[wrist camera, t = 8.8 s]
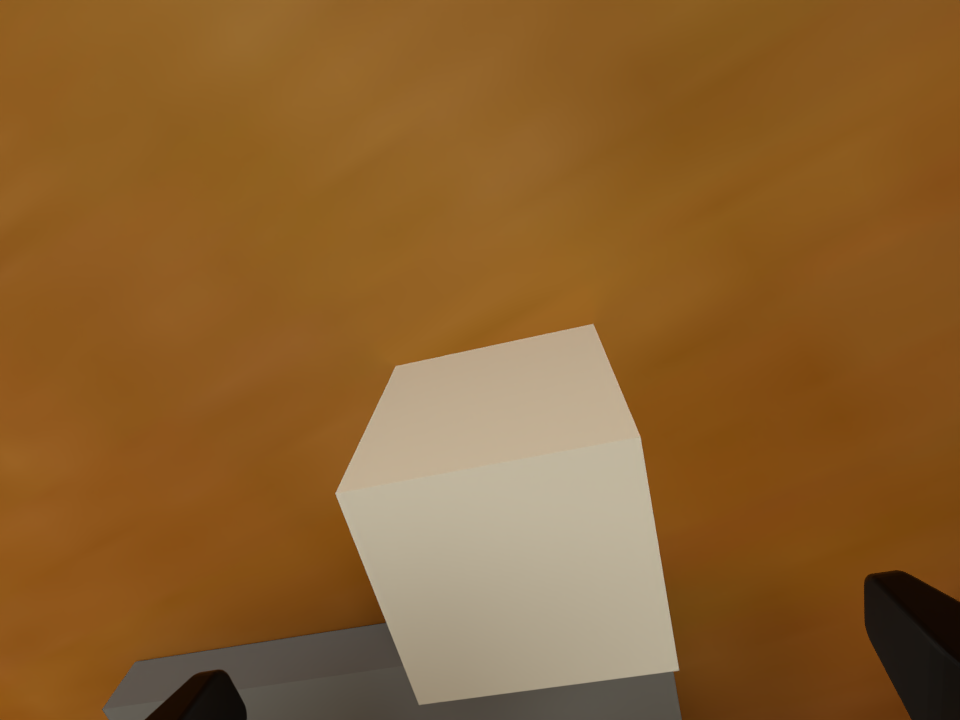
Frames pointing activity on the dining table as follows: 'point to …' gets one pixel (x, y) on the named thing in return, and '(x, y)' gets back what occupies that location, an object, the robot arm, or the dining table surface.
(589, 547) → the cream block
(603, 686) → the charcoal plate
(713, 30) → the dining table surface
